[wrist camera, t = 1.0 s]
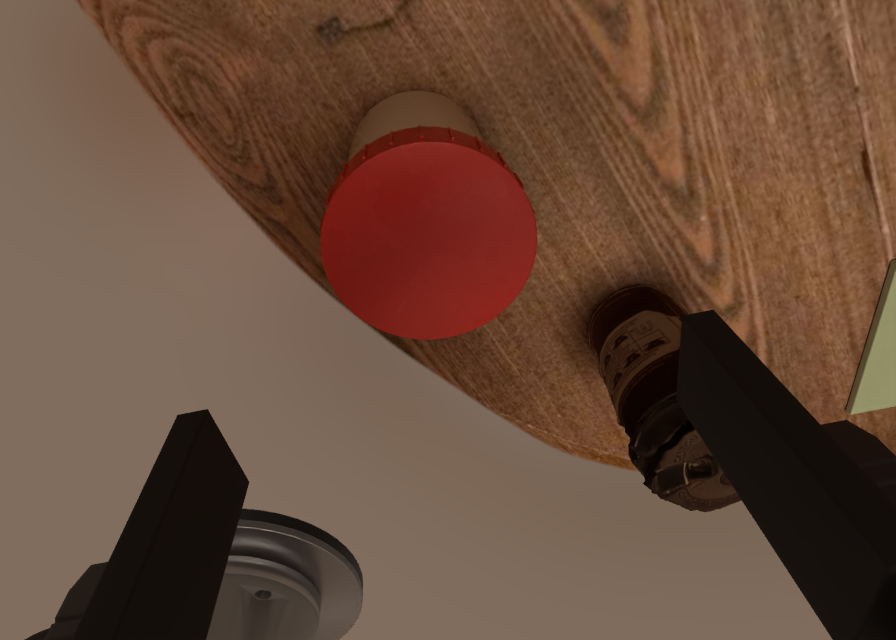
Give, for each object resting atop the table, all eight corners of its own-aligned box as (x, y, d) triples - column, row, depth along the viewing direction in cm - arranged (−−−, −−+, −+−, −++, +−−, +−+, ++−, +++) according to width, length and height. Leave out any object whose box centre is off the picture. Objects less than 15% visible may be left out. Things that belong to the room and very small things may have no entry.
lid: (355, 329, 26) (353, 357, 24) (296, 149, 21) (287, 167, 19) (535, 293, 25) (546, 319, 24) (515, 103, 21) (527, 117, 19)
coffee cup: (546, 354, 39) (606, 504, 28) (605, 254, 35) (700, 384, 24) (648, 382, 41) (739, 531, 30) (714, 291, 37) (846, 426, 26)
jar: (369, 236, 33) (361, 342, 24) (332, 106, 29) (305, 173, 20) (493, 211, 33) (533, 308, 24) (474, 76, 29) (514, 130, 19)
